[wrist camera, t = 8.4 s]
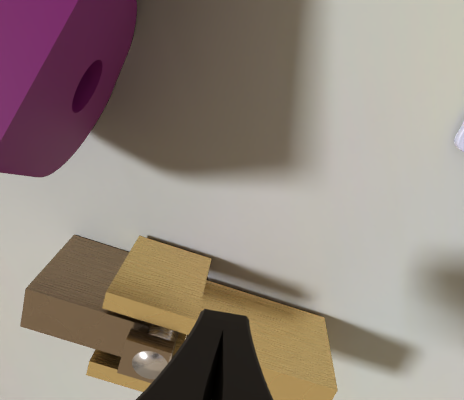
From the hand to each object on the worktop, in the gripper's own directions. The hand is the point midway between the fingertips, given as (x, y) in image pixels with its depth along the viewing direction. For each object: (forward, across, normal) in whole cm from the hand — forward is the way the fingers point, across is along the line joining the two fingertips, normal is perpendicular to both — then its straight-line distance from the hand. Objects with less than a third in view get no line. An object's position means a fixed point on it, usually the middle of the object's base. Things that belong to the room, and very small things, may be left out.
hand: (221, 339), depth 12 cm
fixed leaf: (+10, +5, +5) cm, 12 cm away
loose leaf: (+10, 0, +6) cm, 11 cm away
